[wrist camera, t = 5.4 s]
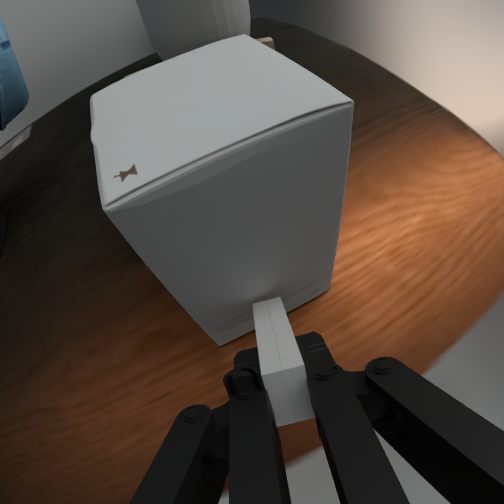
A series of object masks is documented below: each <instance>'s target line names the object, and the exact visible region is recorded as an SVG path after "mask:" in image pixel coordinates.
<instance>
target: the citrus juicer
mask: <svg viewBox="0 0 504 504" xmlns="http://www.w3.org/2000/svg"><path fill="white" fill-rule="evenodd" d="M136 2H137V5H138V8H139V11H140V14H141V17H142V20H143V22H144V25H145V28H146V31H147V34H148V36H149V38H150V41H151V43H152V45H153V47H154V48H155V50H156V52H157V54H158V55H159V56H160V58H161V59H162V60H163V62H164V61H166V60H169V59H171V58H174V57H176V56H179V55H181V54H184V53H187V52H190V51H192V50H195V49H197V48H200V47H203V46H205V45H208V44H211V43H214V42H217V41H220V40H224V39H227V38H231V37H235V36H239V35H243V34H246V35H247V36H249V35H250V11H249V3H248V0H136Z"/></svg>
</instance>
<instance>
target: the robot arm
mask: <svg viewBox="0 0 504 504" xmlns="http://www.w3.org/2000/svg"><path fill="white" fill-rule="evenodd" d="M28 99H29V93H28V89H27V86H26V84H25V81H24V78H23V76H22V73H21V70H20V68H19V65H18V62H17V60H16V57H15V54H14V52H13V49H12V46H11V43H10V40H9V37H8V34H7V31H6V28H5V25H4V22H3V20H2V19H0V130H2V131H3V130H4V129H5V128H6V125H7V124H8V123H9V122H10V121H12V120H13V119H14V118H15V117H16V116H17V115H18V114H19V113H20V112H22V111H23V109H24V108H25V107H26V105H27V102H28ZM5 234H6V219H5V216H4V215H3V213H2V212H1V211H0V253H1V250H2V247H3V243H4V239H5ZM266 301H267V302H266ZM252 306H253V314H254V322H255V330H256V338H257V346H258V347H256V348H252V349H247V350H243V351H238V353H237V354H236V356H235V357H234V369H233V370H231V371H230V372H228V373H227V374H226V375H225V376H224V379H223V382H224V385H225V387H226V390H227V393H228V395H229V401H228V402H227V403H225V404H224V405H222V406H220V407H218V408H215V409H213V410H210V408H209V407H207V406H205V405H200V404H199V405H192V406H190V407H187V408H185V409H184V410H182V411H181V412H180V413H179V415H178V416H177V418H176V420H175V421H174V423H173V425H172V427H171V429H170V431H169V432H168V434H167V436H166V438H165V440H164V442H163V444H162V445H161V447H160V449H159V451H158V453H157V455H156V456H155V458H154V460H153V462H152V464H151V466H150V467H149V469H148V471H147V473H146V475H145V476H144V478H143V480H142V482H141V484H140V486H139V487H138V489H137V491H136V493H135V495H134V496H133V498H132V500H131V502H130V504H218V503H219V500H220V497H221V494H222V490H223V487H224V484H225V481H226V478H227V475H228V472H229V504H291V499H290V493H289V488H288V482H287V477H286V470H285V465H284V459H283V453H282V448H281V442H280V436H279V433H278V430H277V427H278V426H283V425H287V424H291V423H295V422H299V421H303V420H307V419H311V418H314V417H315V418H316V423H317V428H318V434H319V438H321V441H322V444H323V447H324V451H325V454H326V457H327V461H328V464H329V467H330V470H331V474H332V477H333V480H334V483H335V487H336V490H337V494H338V497H339V500H340V504H410V503H409V501H408V499H407V497H406V495H405V493H404V491H403V489H402V486H401V484H400V482H399V480H398V478H397V476H396V474H395V472H394V470H393V468H392V466H391V464H390V462H389V460H388V458H387V456H386V454H385V451H384V449H383V447H382V445H381V444H380V441H379V439H378V438H377V435H376V433H375V431H374V429H375V430H376V431H377V432H378V433H379V434H380V435H381V436H382V437H383V438H384V439H385V440H386V441H387V442H388V443H389V444H390V445H391V446H392V447H393V448H394V449H395V450H396V451H397V452H398V453H399V454H400V455H401V456H402V457H403V458H404V459H405V460H406V461H407V462H408V463H409V464H410V465H411V466H412V467H413V468H414V469H415V470H416V471H417V472H418V473H419V474H420V475H421V476H422V477H423V478H424V479H425V480H426V481H427V482H428V483H429V484H431V485H432V486H433V487H434V488H435V489H436V490H437V491H438V492H439V493H440V494H441V495H442V496H443V497H444V498H445V499H447V501H449V502H450V503H451V504H504V431H503V430H501V429H500V428H498V427H497V426H495V425H494V424H492V423H491V422H489V421H487V420H486V419H484V418H483V417H482V416H480V415H479V414H477V413H476V412H474V411H472V410H471V409H470V408H468V407H466V406H465V405H464V404H462V403H461V402H459V401H458V400H456V399H454V398H453V397H452V396H450V395H449V394H447V393H446V392H444V391H443V390H441V389H440V388H438V387H437V386H435V385H434V384H432V383H431V382H429V381H428V380H426V379H425V378H423V377H422V376H421V375H419V374H418V373H416V372H415V371H413V370H412V369H410V368H409V367H407V366H406V365H404V364H403V363H401V362H400V361H398V360H397V359H394V358H392V357H380V358H377V359H374V360H372V361H371V362H369V363H368V364H367V366H366V367H365V371H357V372H349V371H344V370H343V369H342V368H341V367H340V366H339V365H336V363H335V361H334V359H333V357H332V355H331V353H330V351H329V349H328V348H327V346H326V344H325V342H324V340H323V338H322V336H321V335H319V334H318V333H316V332H311V333H307V334H304V335H300V336H296V337H294V334H293V331H292V328H291V326H290V323H289V320H288V317H287V314H286V312H285V309H284V306H283V303H282V300H281V298H280V297H277V298H273V299H269V300H265V301H261V302H258V303H254V304H252ZM294 415H295V416H294ZM295 419H296V420H295ZM276 425H277V426H276ZM373 428H374V429H373Z"/></svg>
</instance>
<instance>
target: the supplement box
mask: <svg viewBox="0 0 504 504" xmlns="http://www.w3.org/2000/svg"><path fill="white" fill-rule="evenodd" d="M353 107H354V102H353V100H351V99H350V98H348V97H347V96H345V95H344V94H342V93H341V92H340V91H338V90H337V89H335V88H334V87H332V86H331V85H329V84H328V83H326V82H325V81H323V80H322V79H320V78H319V77H317V76H316V75H314V74H313V73H311V72H309V71H308V70H306V69H305V68H303V67H301V66H300V65H298V64H296V63H295V62H293V61H291V60H290V59H288V58H286V57H285V56H283V55H281V54H280V53H278V52H276V51H275V50H273V49H271V48H269V47H267V46H266V45H264V44H262V43H260V42H258V41H257V40H255V39H253V38H251V37H249V36H247V35H246V34H243V35H239V36H235V37H231V38H227V39H224V40H220V41H217V42H214V43H211V44H208V45H205V46H203V47H200V48H197V49H195V50H192V51H190V52H187V53H184V54H181V55H179V56H176V57H174V58H171V59H169V60H166V61H164V62H161V63H159V64H156V65H154V66H151V67H149V68H146V69H144V70H142V71H139V72H137V73H135V74H133V75H130V76H128V77H126V78H124V79H122V80H120V81H118V82H116V83H114V84H112V85H110V86H108V87H106V88H104V89H102V90H101V91H99V92H97V93H95V94H94V95H92V96H91V99H90V109H91V122H92V130H91V140H92V143H93V145H94V154H95V161H96V170H97V179H98V187H99V192H100V198H101V204H102V208H103V210H104V212H105V213H106V214H107V216H108V217H109V218H110V220H111V221H112V222H113V223H114V225H115V226H116V227H117V229H118V230H119V231H120V232H121V234H122V235H123V236H124V238H125V239H126V240H127V241H128V243H129V244H130V245H131V247H132V248H133V249H134V250H135V252H136V253H137V254H138V255H139V256H140V258H141V259H142V260H143V261H144V262H145V264H146V265H147V266H148V267H149V268H150V270H151V271H152V272H153V273H154V274H155V276H156V277H157V278H158V279H159V280H160V281H161V283H162V284H163V285H164V286H165V287H166V289H167V290H168V291H169V292H170V293H171V294H172V296H173V297H174V298H175V299H176V300H177V301H178V302H179V303H180V305H181V306H182V307H183V308H184V309H185V310H186V311H187V312H188V314H189V315H190V316H191V317H192V318H193V319H194V320H195V321H196V322H197V323H198V325H199V326H200V327H201V328H202V329H203V330H204V331H205V332H206V333H207V334H208V335H209V336H210V337H211V338H212V339H213V341H214V342H215V343H216V344H217V345H218V346H221V345H223V344H225V343H228V342H230V341H232V340H234V339H236V338H238V337H240V336H242V335H244V334H246V333H248V332H250V331H252V330H254V329H255V322H254V314H253V306H252V304H254V303H258V302H261V301H265V300H269V299H273V298H277V297H280V298H281V300H282V303H283V306H284V309H285V312H286V313H287V312H289V311H291V310H293V309H295V308H297V307H298V306H300V305H302V304H304V303H306V302H308V301H310V300H311V299H313V298H315V297H317V296H319V295H320V294H322V293H324V292H325V291H327V290H328V289H329V288H330V284H331V279H332V273H333V268H334V261H335V256H336V249H337V243H338V237H339V230H340V223H341V216H342V209H343V201H344V194H345V186H346V178H347V170H348V160H349V152H350V142H351V127H352V117H353ZM266 302H267V301H266Z"/></svg>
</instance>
